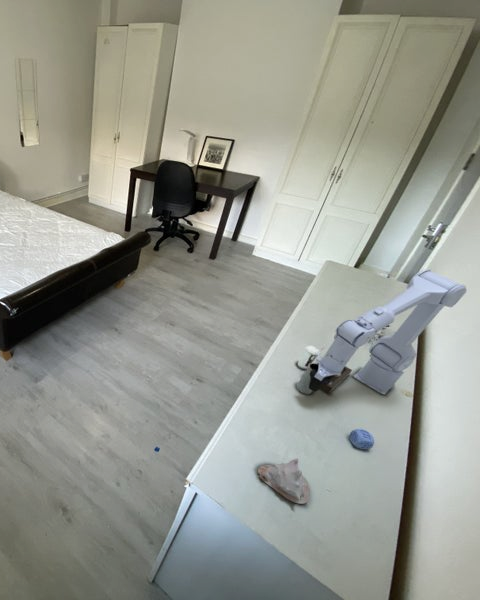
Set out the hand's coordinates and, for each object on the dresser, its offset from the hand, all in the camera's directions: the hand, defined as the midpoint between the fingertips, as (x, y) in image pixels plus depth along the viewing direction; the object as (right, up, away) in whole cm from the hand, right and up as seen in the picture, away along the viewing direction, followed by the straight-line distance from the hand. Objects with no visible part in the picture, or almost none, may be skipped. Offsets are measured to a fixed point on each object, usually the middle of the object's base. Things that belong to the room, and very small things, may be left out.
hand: (317, 384), depth 107 cm
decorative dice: (+3, -14, -12) cm, 19 cm away
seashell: (-26, -20, -22) cm, 40 cm away
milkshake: (+5, +3, +13) cm, 15 cm away
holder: (+10, +1, +9) cm, 14 cm away
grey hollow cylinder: (-2, -3, +4) cm, 6 cm away
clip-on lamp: (+47, +13, +30) cm, 57 cm away
